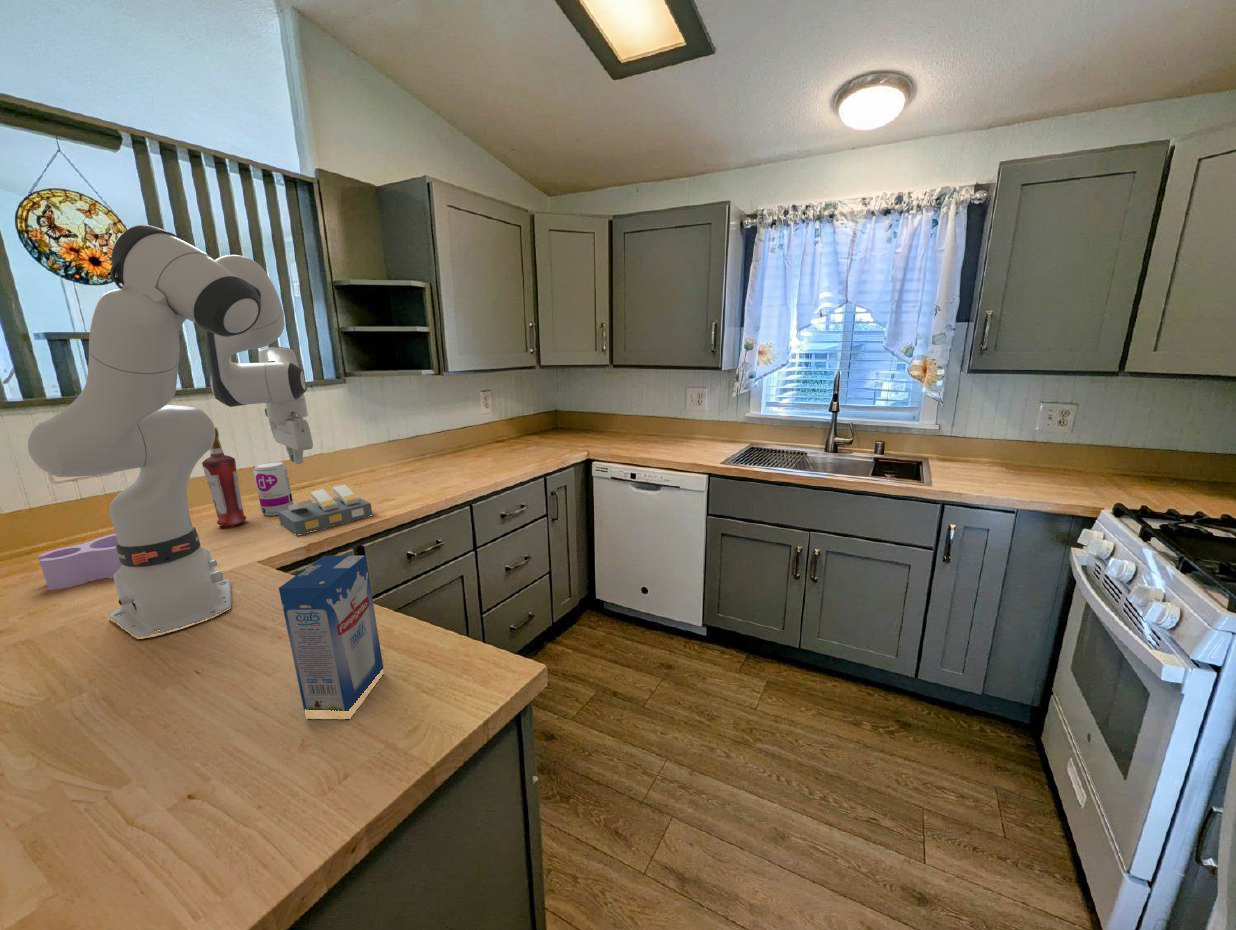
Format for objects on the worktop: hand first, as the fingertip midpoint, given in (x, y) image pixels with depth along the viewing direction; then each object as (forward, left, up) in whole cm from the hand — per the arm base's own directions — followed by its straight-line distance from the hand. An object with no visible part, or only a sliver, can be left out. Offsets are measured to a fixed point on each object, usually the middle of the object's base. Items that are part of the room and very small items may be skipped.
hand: (296, 462), depth 137 cm
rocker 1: (+4, 0, -13) cm, 14 cm away
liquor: (+22, +13, -19) cm, 32 cm away
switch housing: (+4, -6, -19) cm, 20 cm away
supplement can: (+24, +1, -19) cm, 31 cm away
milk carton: (-80, +20, -19) cm, 85 cm away
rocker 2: (+4, -6, -13) cm, 15 cm away
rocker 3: (+4, -12, -13) cm, 18 cm away
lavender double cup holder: (+8, +39, -20) cm, 44 cm away
